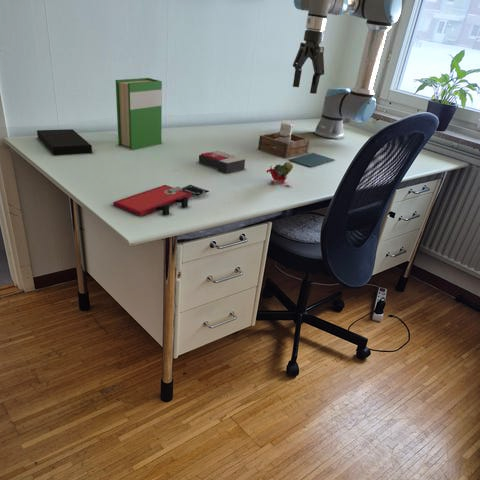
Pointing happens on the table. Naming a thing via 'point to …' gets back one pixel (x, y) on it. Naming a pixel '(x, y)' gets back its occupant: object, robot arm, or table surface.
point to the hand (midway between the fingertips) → (304, 90)
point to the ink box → (285, 131)
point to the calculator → (222, 161)
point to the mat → (311, 160)
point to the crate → (283, 145)
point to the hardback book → (139, 112)
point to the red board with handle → (158, 199)
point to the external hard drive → (64, 142)
